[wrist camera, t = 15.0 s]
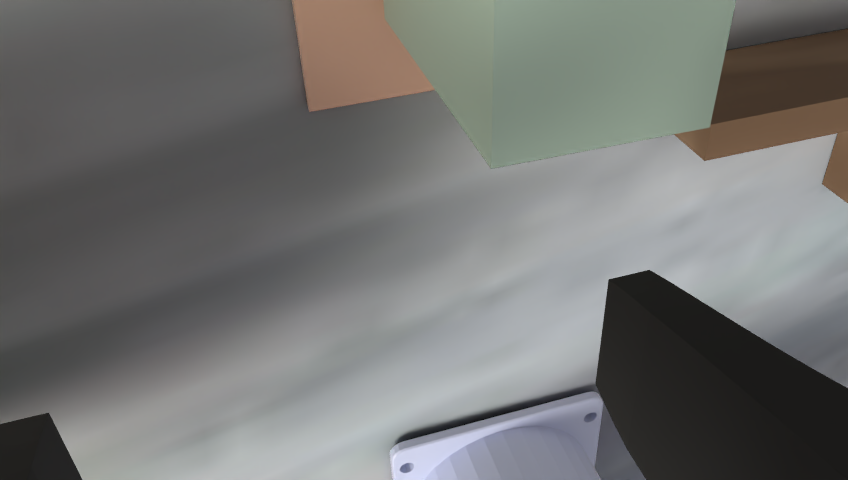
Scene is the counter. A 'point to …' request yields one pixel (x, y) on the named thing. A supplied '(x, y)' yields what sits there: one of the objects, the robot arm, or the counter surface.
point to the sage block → (567, 69)
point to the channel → (781, 101)
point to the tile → (352, 54)
